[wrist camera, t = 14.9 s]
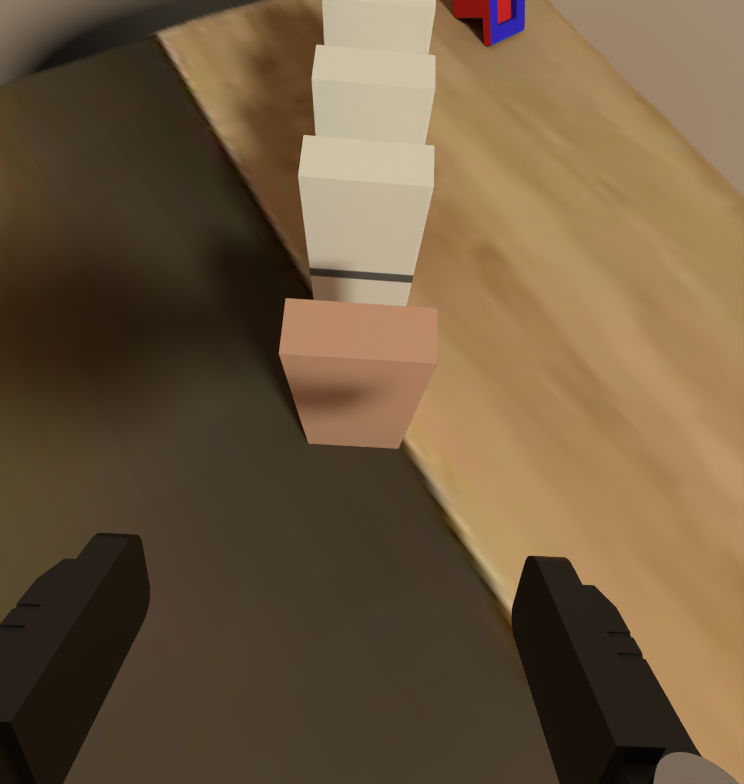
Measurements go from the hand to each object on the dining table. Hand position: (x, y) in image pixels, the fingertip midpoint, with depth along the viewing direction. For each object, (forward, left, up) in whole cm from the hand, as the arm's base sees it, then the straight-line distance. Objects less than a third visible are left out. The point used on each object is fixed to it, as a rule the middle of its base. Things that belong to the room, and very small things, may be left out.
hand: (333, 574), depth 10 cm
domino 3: (0, +19, -15) cm, 24 cm away
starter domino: (0, +7, -15) cm, 17 cm away
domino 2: (0, +14, -15) cm, 21 cm away
